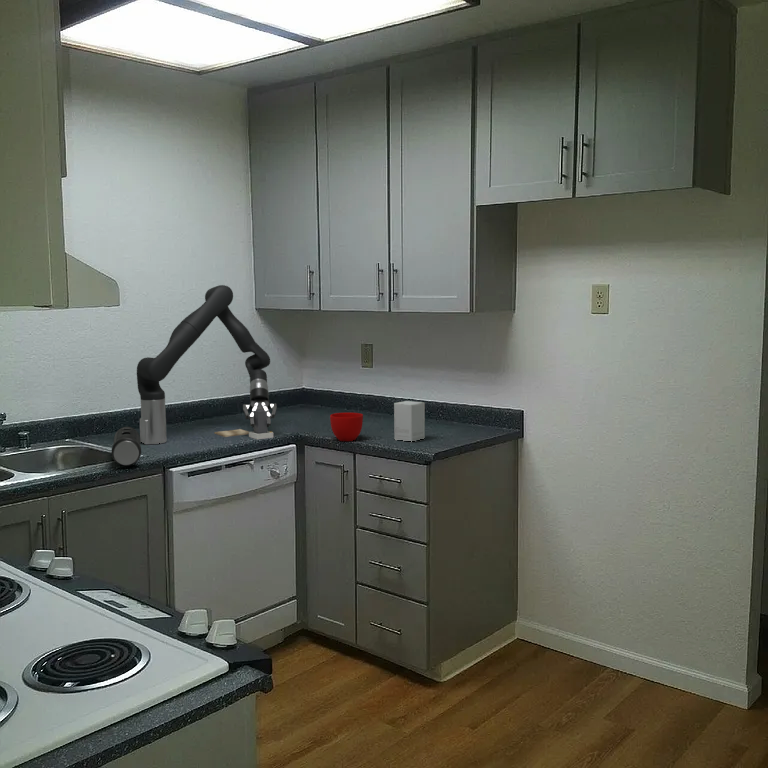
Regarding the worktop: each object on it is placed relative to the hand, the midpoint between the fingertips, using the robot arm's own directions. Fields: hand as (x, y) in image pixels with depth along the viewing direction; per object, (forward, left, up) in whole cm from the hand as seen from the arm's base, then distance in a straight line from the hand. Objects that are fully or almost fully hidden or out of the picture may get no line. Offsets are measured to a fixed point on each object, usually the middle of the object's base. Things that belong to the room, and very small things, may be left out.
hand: (260, 425), depth 325 cm
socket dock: (+1, +2, -5) cm, 6 cm away
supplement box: (+46, -37, -6) cm, 59 cm away
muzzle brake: (-57, -9, -6) cm, 58 cm away
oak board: (-5, +16, -5) cm, 18 cm away
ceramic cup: (+28, -21, -6) cm, 36 cm away
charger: (+1, +2, -4) cm, 5 cm away
